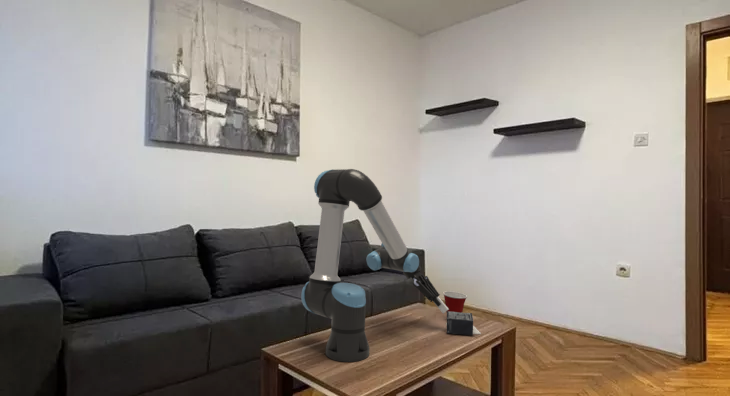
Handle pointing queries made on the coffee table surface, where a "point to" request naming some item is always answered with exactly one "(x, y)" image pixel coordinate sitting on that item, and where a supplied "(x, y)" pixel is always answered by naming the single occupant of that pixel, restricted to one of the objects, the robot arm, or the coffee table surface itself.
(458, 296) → the plastic cup
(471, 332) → the small box
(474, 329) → the mat
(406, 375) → the coffee table surface
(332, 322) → the robot arm
